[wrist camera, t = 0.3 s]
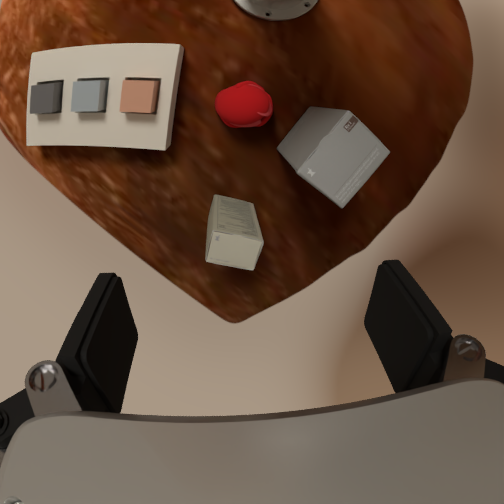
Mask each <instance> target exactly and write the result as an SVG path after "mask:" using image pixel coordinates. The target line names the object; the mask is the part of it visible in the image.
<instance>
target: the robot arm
mask: <svg viewBox="0 0 504 504" xmlns="http://www.w3.org/2000/svg"><path fill="white" fill-rule="evenodd" d="M317 1H318V0H234V2H235V3H236V4H237V5H238V6H239V7H240V8H241V9H243V10H244V11H245V12H247V13H249V14H251V15H253V16H255V17H258V18H261V19H265V20H272V21H284V20H290V19H294V18H297V17H299V16H302V15H303V14H305V13H306V12H308V11H309V10H310V9H312V8H313V6H314V5H315V4H316V3H317ZM304 5H307V7H305V6H304ZM267 13H268V14H269V16H266V14H267ZM364 325H365V328H366V330H367V332H368V334H369V337H370V339H371V341H372V343H373V345H374V347H375V349H376V351H377V354H378V355H379V358H380V360H381V362H382V364H383V367H384V369H385V371H386V373H387V375H388V378H389V380H390V382H391V384H392V387H393V389H394V391H395V394H391V395H386V396H382V397H377V398H372V399H367V400H362V401H357V402H352V403H346V404H340V405H334V406H328V407H321V408H314V409H306V410H298V411H289V412H279V413H269V414H254V415H236V416H205V417H204V416H197V417H195V416H193V417H192V416H191V417H190V416H188V417H187V416H156V415H135V414H120V412H121V409H122V404H123V399H124V394H125V390H126V385H127V381H128V377H129V373H130V369H131V365H132V361H133V356H134V353H135V348H136V345H137V341H138V332H137V329H136V326H135V323H134V319H133V316H132V313H131V310H130V307H129V304H128V300H127V297H126V293H125V290H124V286H123V283H122V279H121V278H120V277H117V275H116V274H115V273H100V274H99V275H98V277H97V278H96V280H95V282H94V284H93V286H92V288H91V290H90V291H89V293H88V295H87V297H86V299H85V301H84V303H83V305H82V307H81V309H80V311H79V312H78V314H77V316H76V318H75V320H74V322H73V324H72V326H71V328H70V330H69V332H68V334H67V336H66V338H65V341H64V343H63V345H62V347H61V350H60V352H59V354H58V356H57V358H56V361H50V360H47V361H42V362H39V363H37V364H36V365H34V366H33V367H32V368H31V369H30V370H29V371H28V373H27V375H26V378H25V387H26V388H25V389H23V390H22V391H20V392H18V393H17V394H15V395H13V396H12V397H10V398H8V399H6V400H5V401H3V402H1V403H0V504H504V366H502V365H500V364H497V363H495V362H492V361H490V360H488V359H486V358H485V357H486V354H485V349H484V347H483V345H482V344H481V343H480V342H479V341H478V340H477V339H476V338H474V337H472V336H470V335H465V334H462V335H457V336H455V337H454V338H453V337H452V336H451V333H452V329H451V328H450V327H449V325H448V324H447V322H446V321H445V320H444V318H443V317H442V315H441V314H440V313H439V311H438V310H437V309H436V307H435V306H434V304H433V303H432V302H431V300H430V299H429V298H428V296H427V295H426V294H425V292H424V291H423V290H422V289H421V287H420V286H419V285H418V283H417V282H416V281H415V280H414V278H413V277H412V276H411V274H410V273H409V272H408V271H407V270H406V268H405V267H404V266H403V265H402V264H401V262H400V261H399V260H386V261H383V262H382V265H379V266H378V269H377V273H376V277H375V281H374V285H373V290H372V294H371V297H370V301H369V304H368V308H367V312H366V315H365V320H364Z"/></svg>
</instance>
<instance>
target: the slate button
mask: <svg viewBox="0 0 504 504" xmlns="http://www.w3.org/2000/svg"><path fill="white" fill-rule="evenodd" d="M108 86H109V80H96V81H75V82H73V88H72V100H71V112H81V111H101V110H105V109H106V106H107V95H108Z"/></svg>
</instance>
